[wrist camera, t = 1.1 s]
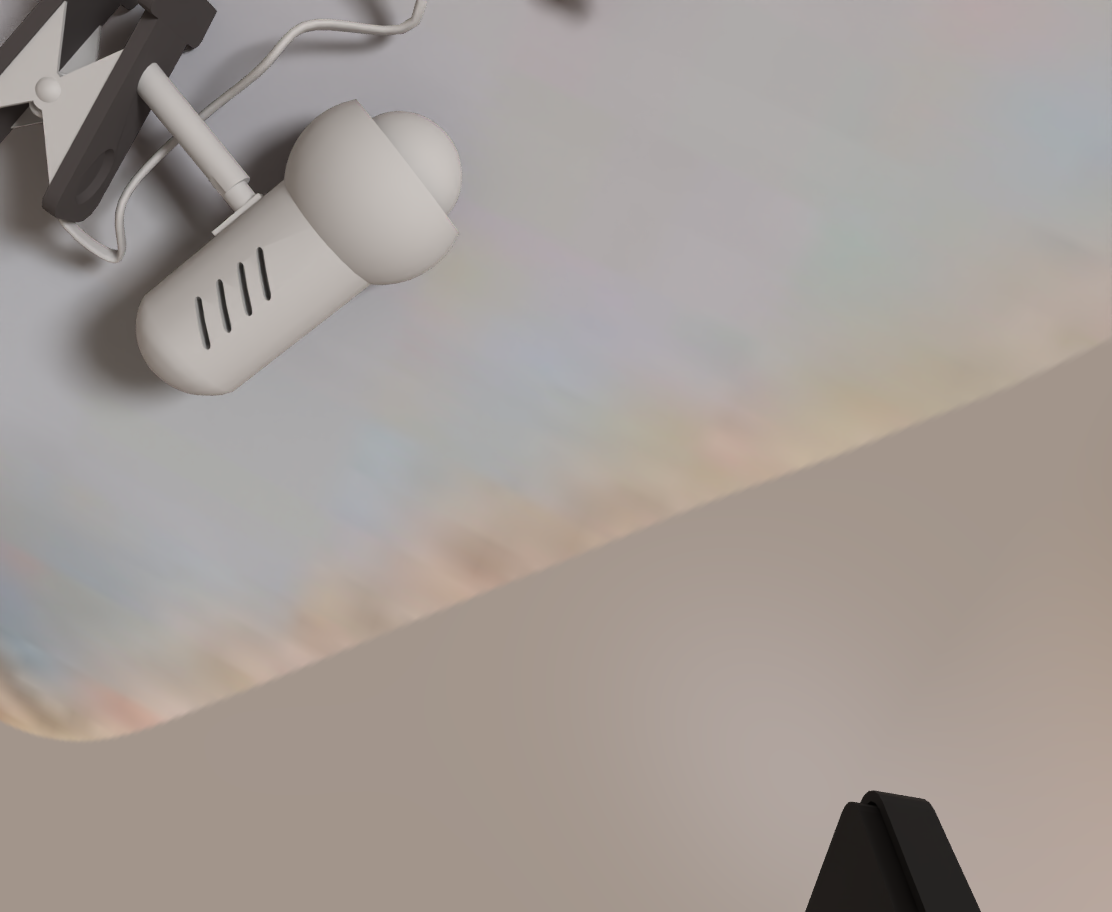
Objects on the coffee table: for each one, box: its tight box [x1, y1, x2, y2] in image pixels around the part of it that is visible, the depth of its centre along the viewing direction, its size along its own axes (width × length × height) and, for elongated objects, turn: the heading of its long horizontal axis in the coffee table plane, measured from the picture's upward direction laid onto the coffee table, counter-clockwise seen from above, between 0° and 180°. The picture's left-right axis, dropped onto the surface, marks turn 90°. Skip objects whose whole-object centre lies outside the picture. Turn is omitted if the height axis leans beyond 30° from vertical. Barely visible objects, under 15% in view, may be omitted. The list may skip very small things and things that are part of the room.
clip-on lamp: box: [0, 0, 462, 396], centre depth 26 cm, size 12×6×18 cm
